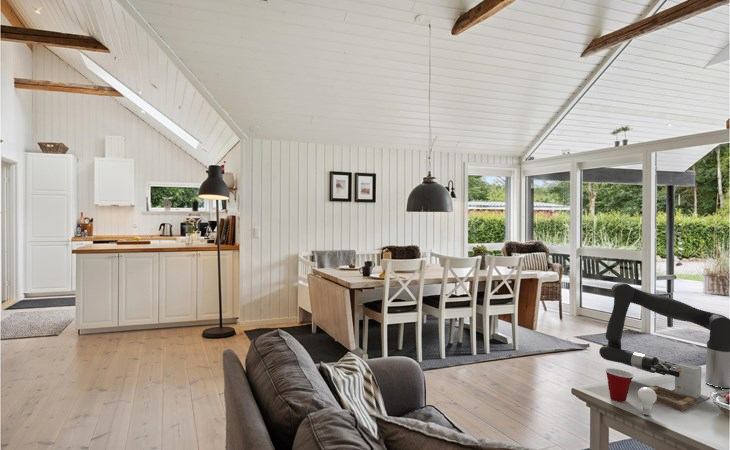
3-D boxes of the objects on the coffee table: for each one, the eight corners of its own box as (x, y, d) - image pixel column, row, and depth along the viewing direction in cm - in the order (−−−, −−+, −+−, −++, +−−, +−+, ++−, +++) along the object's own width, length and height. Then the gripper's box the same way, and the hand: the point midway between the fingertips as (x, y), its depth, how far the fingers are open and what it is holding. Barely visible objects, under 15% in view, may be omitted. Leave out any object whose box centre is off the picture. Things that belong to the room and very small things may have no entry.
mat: (678, 388, 202) (678, 387, 202) (709, 398, 192) (710, 397, 192) (666, 393, 196) (666, 392, 196) (697, 403, 186) (697, 402, 186)
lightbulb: (638, 410, 178) (639, 383, 177) (657, 415, 174) (658, 387, 173) (635, 415, 173) (636, 387, 172) (654, 420, 169) (656, 392, 168)
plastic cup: (639, 403, 185) (640, 374, 184) (619, 405, 181) (620, 377, 181) (617, 393, 195) (618, 366, 195) (598, 395, 192) (599, 368, 191)
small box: (700, 396, 193) (702, 366, 193) (695, 399, 189) (697, 369, 189) (679, 390, 199) (680, 361, 199) (674, 393, 195) (675, 364, 195)
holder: (655, 390, 199) (655, 385, 199) (696, 404, 185) (696, 398, 185) (639, 396, 191) (639, 391, 191) (681, 411, 178) (681, 405, 178)
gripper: (637, 356, 205) (676, 367, 192) (652, 352, 213) (691, 362, 199) (636, 372, 206) (675, 384, 192) (651, 367, 213) (690, 378, 199)
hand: (683, 373), depth 196 cm, fingers open, 8 cm apart
